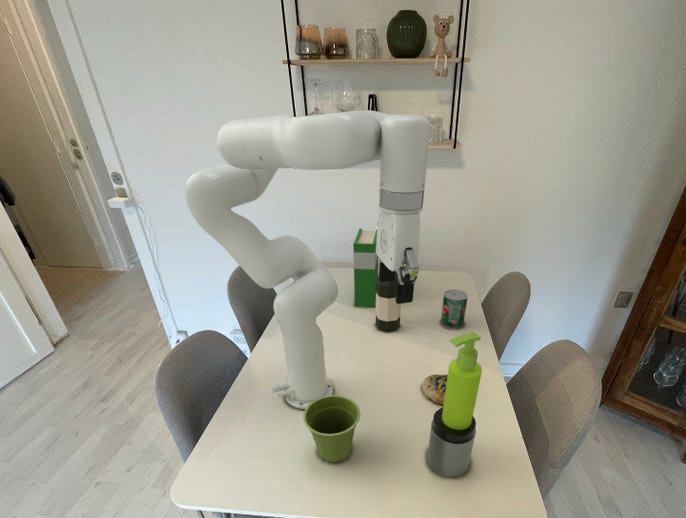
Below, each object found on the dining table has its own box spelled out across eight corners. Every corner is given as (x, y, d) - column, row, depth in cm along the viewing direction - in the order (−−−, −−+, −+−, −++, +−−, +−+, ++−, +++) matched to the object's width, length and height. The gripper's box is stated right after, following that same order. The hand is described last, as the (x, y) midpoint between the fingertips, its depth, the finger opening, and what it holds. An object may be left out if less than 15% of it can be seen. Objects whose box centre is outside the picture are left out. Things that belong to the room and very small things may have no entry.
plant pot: (297, 450, 86) (291, 413, 79) (337, 423, 93) (335, 387, 86) (331, 482, 79) (328, 444, 72) (372, 450, 86) (372, 413, 79)
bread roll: (468, 385, 104) (470, 372, 101) (454, 414, 97) (455, 401, 94) (430, 374, 109) (430, 361, 106) (414, 400, 102) (413, 387, 99)
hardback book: (360, 286, 158) (359, 228, 145) (378, 287, 158) (378, 229, 144) (354, 306, 143) (353, 243, 130) (374, 307, 143) (375, 244, 130)
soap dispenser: (431, 415, 78) (442, 332, 67) (459, 405, 80) (474, 323, 69) (448, 435, 73) (462, 349, 62) (477, 424, 76) (495, 339, 65)
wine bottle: (400, 320, 134) (404, 236, 118) (399, 332, 128) (403, 245, 111) (376, 319, 135) (377, 235, 119) (374, 331, 128) (375, 244, 112)
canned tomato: (468, 326, 131) (472, 297, 125) (448, 330, 129) (452, 301, 123) (455, 315, 137) (459, 287, 131) (436, 320, 135) (439, 291, 129)
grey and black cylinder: (438, 481, 79) (444, 441, 72) (420, 449, 86) (424, 410, 79) (476, 471, 81) (486, 430, 74) (456, 440, 88) (463, 401, 81)
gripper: (365, 189, 70) (363, 275, 80) (398, 214, 57) (391, 315, 66) (403, 187, 72) (397, 271, 82) (443, 212, 59) (431, 309, 68)
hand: (394, 291), depth 74 cm, fingers open, 9 cm apart
